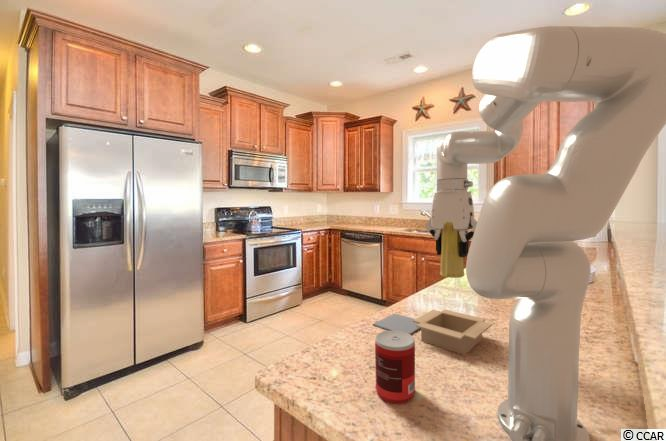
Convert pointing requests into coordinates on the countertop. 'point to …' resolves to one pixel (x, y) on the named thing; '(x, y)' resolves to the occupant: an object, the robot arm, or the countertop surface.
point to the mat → (398, 324)
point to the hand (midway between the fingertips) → (451, 254)
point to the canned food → (395, 366)
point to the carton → (451, 330)
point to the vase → (451, 252)
